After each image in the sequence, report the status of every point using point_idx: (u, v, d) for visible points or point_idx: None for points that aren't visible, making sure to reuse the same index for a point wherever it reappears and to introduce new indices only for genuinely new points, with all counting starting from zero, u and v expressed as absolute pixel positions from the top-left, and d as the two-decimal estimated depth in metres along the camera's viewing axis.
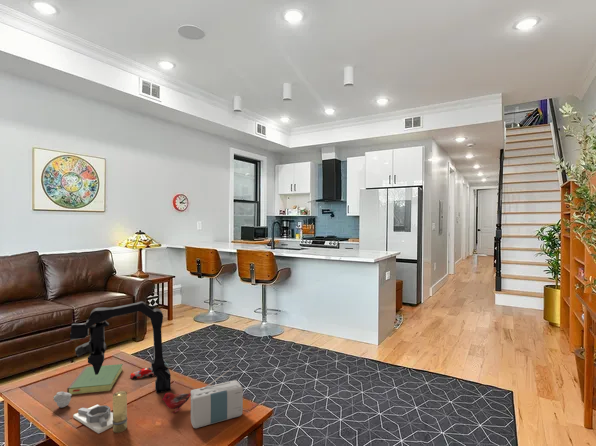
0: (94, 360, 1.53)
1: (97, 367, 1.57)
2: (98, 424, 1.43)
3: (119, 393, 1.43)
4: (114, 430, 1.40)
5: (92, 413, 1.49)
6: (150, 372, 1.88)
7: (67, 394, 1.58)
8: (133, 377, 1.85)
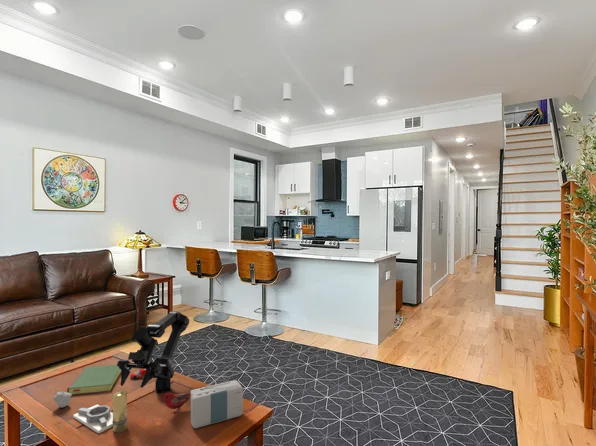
0: (158, 368, 1.53)
1: (147, 379, 1.51)
2: (98, 424, 1.43)
3: (119, 393, 1.43)
4: (114, 430, 1.40)
5: (92, 413, 1.49)
6: None
7: (67, 394, 1.58)
8: (133, 377, 1.85)
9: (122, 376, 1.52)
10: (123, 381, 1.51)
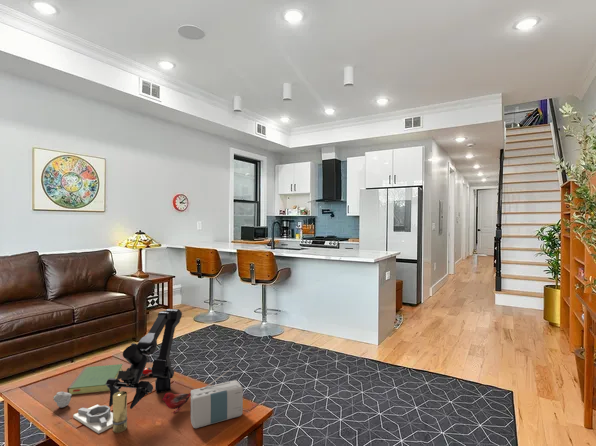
0: (149, 387, 1.46)
1: (137, 399, 1.44)
2: (98, 424, 1.43)
3: (119, 393, 1.42)
4: (114, 430, 1.40)
5: (92, 413, 1.49)
6: (150, 372, 1.88)
7: (67, 394, 1.58)
8: None
9: (111, 396, 1.45)
10: (112, 401, 1.44)
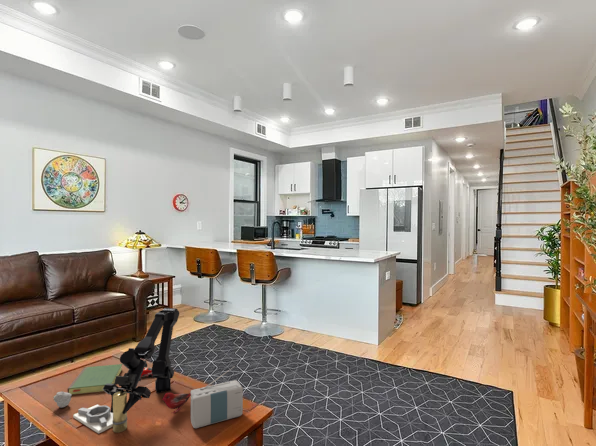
0: (146, 393, 1.44)
1: (130, 404, 1.43)
2: (98, 424, 1.43)
3: (119, 393, 1.43)
4: (114, 430, 1.40)
5: (92, 413, 1.49)
6: (149, 372, 1.88)
7: (67, 394, 1.58)
8: None
9: (112, 402, 1.43)
10: None
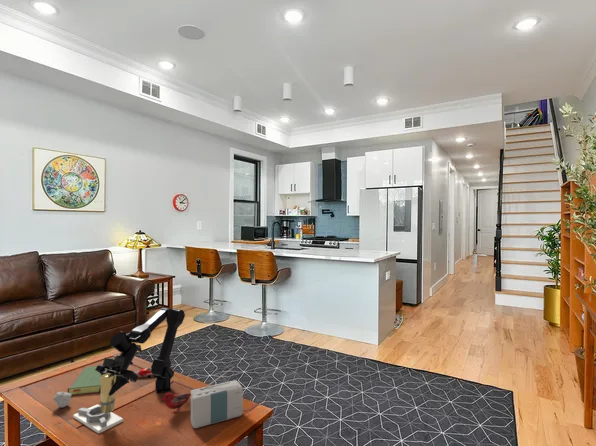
0: (132, 377, 1.45)
1: (117, 387, 1.44)
2: (98, 424, 1.43)
3: (107, 374, 1.45)
4: (101, 410, 1.43)
5: (92, 413, 1.49)
6: (148, 373, 1.87)
7: (67, 394, 1.58)
8: None
9: None
10: None
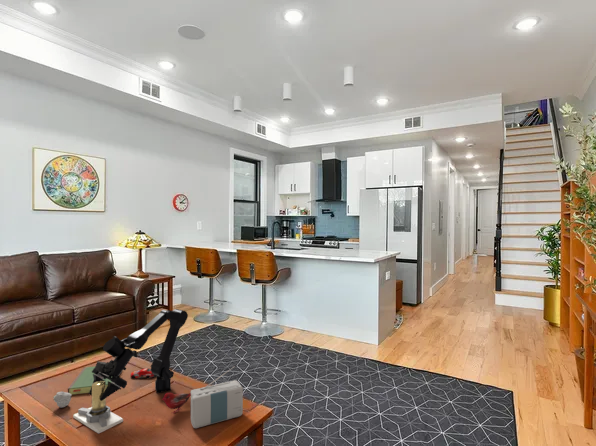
0: (120, 383, 1.46)
1: (108, 392, 1.46)
2: (98, 424, 1.43)
3: (99, 382, 1.49)
4: None
5: None
6: (147, 374, 1.86)
7: (67, 394, 1.58)
8: (131, 376, 1.86)
9: None
10: None
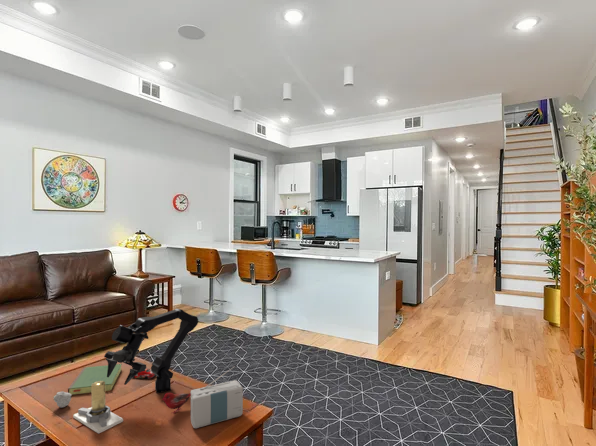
0: (142, 369, 1.58)
1: (131, 377, 1.58)
2: (98, 424, 1.43)
3: (99, 382, 1.49)
4: None
5: None
6: (146, 374, 1.86)
7: (67, 394, 1.58)
8: None
9: (108, 368, 1.59)
10: (109, 373, 1.59)
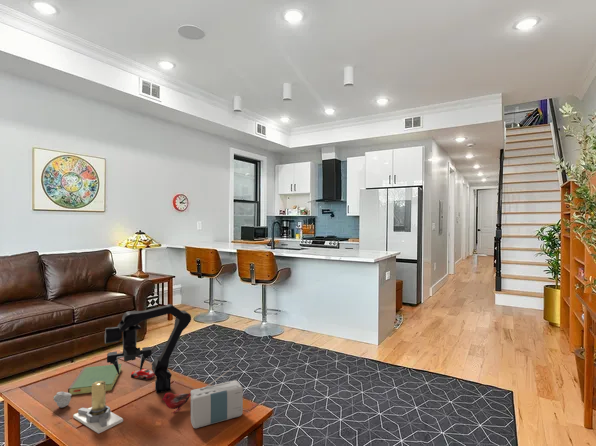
0: None
1: None
2: (98, 424, 1.43)
3: (99, 382, 1.49)
4: None
5: None
6: (144, 375, 1.85)
7: (67, 394, 1.58)
8: (131, 375, 1.87)
9: (117, 368, 1.63)
10: None
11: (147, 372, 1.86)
